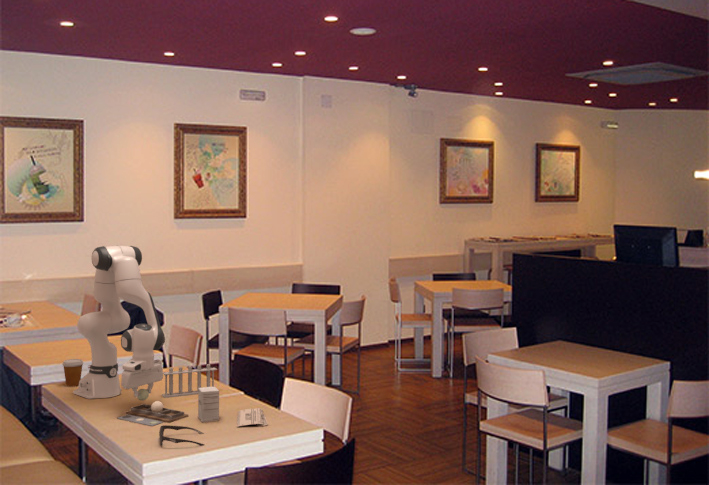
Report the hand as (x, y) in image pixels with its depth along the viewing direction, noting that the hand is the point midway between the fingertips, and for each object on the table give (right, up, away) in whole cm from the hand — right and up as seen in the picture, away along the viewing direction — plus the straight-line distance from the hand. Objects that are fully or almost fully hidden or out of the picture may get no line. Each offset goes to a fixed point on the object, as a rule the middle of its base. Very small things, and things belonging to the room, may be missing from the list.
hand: (142, 395), depth 299 cm
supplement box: (+30, -8, -9) cm, 32 cm away
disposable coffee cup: (-48, -5, +45) cm, 66 cm away
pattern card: (+3, -8, -12) cm, 15 cm away
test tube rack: (+13, -7, +31) cm, 35 cm away
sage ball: (0, 0, 0) cm, 0 cm away
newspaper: (+48, -9, -8) cm, 49 cm away
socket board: (+7, -8, -4) cm, 11 cm away
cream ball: (+7, -4, -4) cm, 9 cm away
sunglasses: (+26, -10, -36) cm, 46 cm away
